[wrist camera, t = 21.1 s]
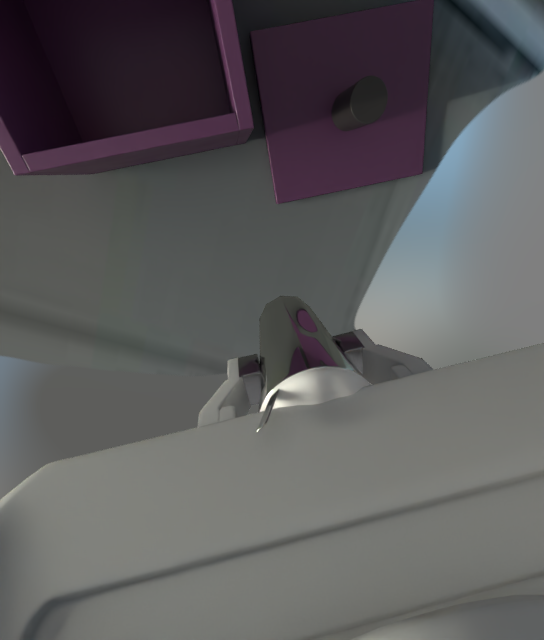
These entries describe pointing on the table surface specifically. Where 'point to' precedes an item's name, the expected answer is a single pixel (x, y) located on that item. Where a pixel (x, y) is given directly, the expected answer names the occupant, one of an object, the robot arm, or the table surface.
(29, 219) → the table surface
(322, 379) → the milkshake
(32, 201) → the table surface
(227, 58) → the box
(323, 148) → the lid
